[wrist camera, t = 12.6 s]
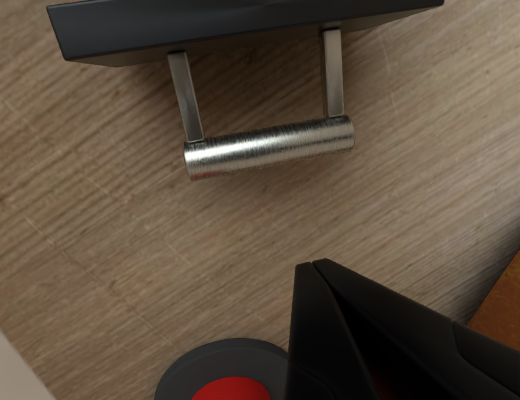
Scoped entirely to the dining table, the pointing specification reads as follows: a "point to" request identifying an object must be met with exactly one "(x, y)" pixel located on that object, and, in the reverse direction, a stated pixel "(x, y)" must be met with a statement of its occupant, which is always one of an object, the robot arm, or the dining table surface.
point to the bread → (501, 308)
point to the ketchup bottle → (233, 390)
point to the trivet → (225, 368)
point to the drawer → (223, 39)
